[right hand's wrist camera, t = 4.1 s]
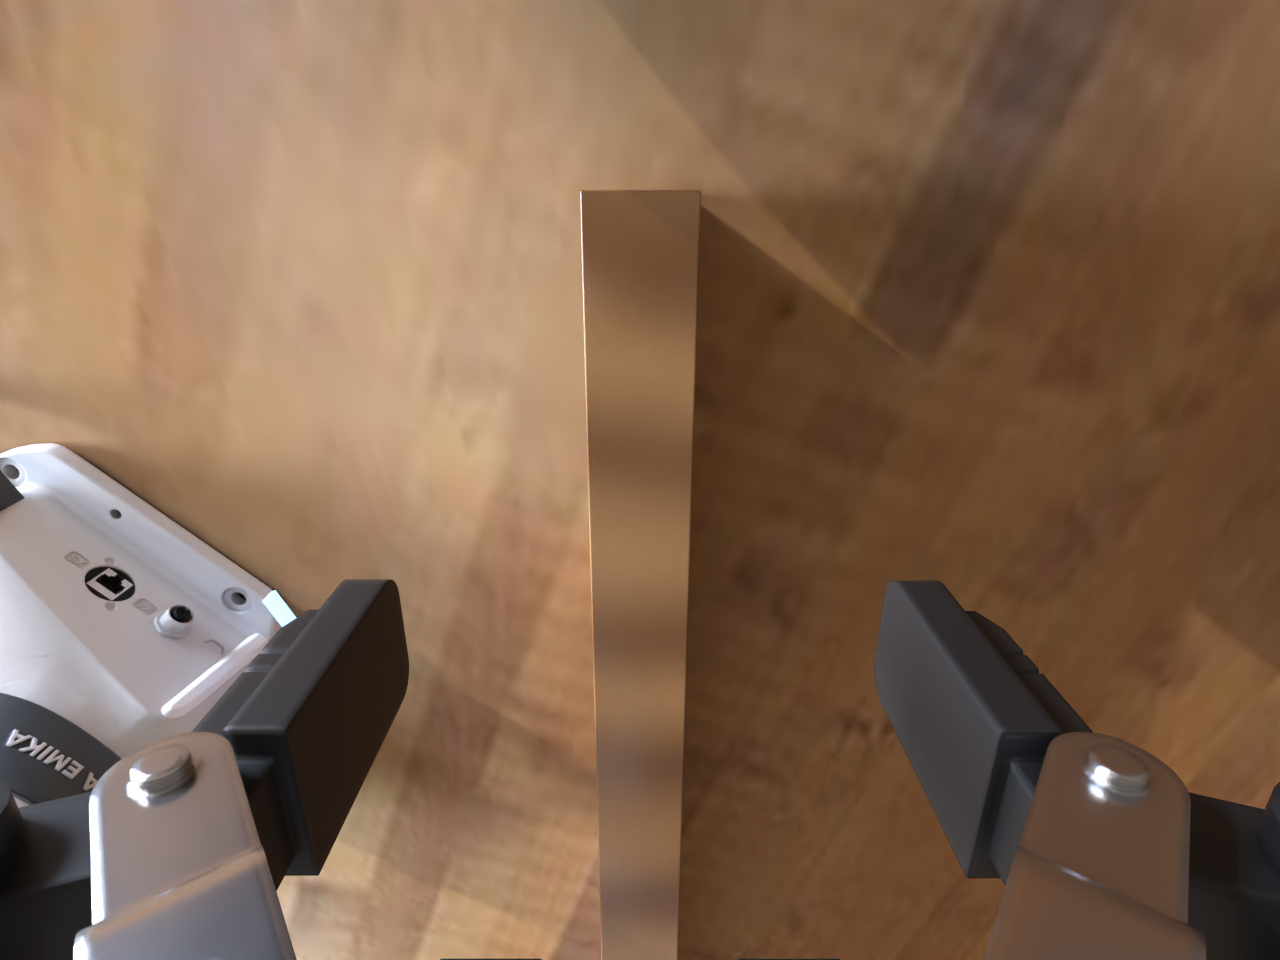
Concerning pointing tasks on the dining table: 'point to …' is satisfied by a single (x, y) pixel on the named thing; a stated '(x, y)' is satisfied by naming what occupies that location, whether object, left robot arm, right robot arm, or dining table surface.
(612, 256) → the beam
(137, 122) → the dining table surface
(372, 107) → the dining table surface
